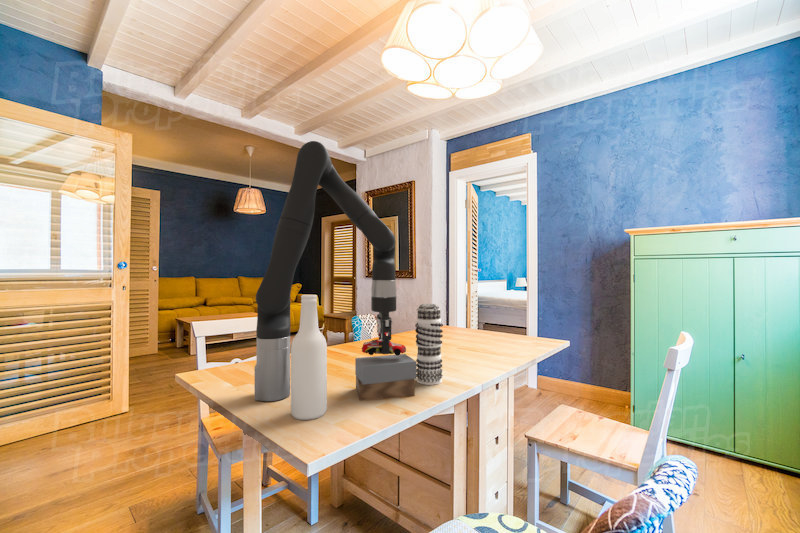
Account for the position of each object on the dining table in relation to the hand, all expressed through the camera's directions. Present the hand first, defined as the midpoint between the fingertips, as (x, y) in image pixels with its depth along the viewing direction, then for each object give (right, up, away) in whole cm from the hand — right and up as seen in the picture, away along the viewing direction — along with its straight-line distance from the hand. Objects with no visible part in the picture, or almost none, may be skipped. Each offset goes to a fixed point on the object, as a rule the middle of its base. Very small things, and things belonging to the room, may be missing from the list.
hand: (383, 351), depth 105 cm
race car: (0, -1, 0) cm, 1 cm away
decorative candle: (+14, -12, +10) cm, 22 cm away
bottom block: (0, -12, -1) cm, 12 cm away
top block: (0, -7, 0) cm, 8 cm away
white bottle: (-18, -12, -16) cm, 27 cm away
